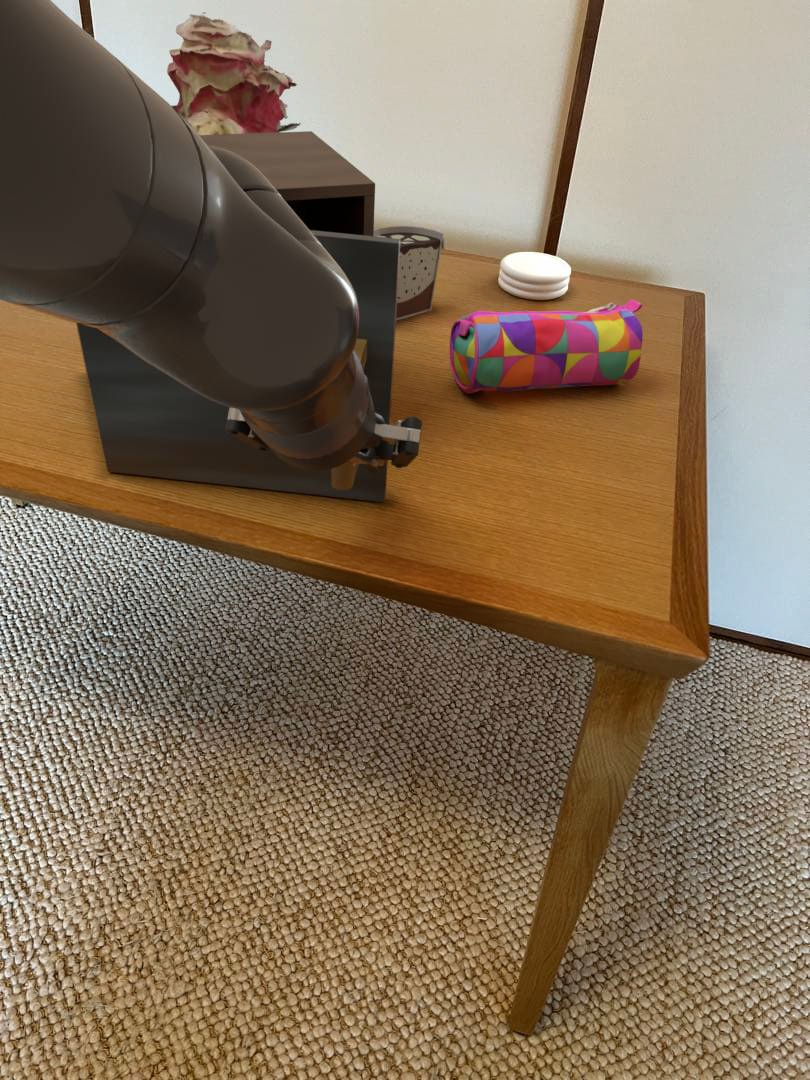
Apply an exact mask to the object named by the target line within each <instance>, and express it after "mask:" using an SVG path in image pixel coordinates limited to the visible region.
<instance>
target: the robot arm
mask: <svg viewBox="0 0 810 1080" xmlns="http://www.w3.org/2000/svg"><path fill="white" fill-rule="evenodd" d="M172 106H173V105H171V104H170V103H169V102H168V101H166V99H164V98H163V97H162V96H161V95H160V94H159V93H158V92H156V91H155V90H154V89H153V88H152V87H150V85H148V84H147V83H146V82H145V81H144V80H142V79H141V78H140V77H139V76H138V75H137V74H136V73H134V71H132V70H131V69H130V68H129V67H127V66H126V65H125V64H124V62H122V61H121V60H120V59H118V58H117V57H116V56H115V55H114V54H113V53H111V52H110V51H109V50H108V49H107V48H106V47H104V46H103V44H101V43H100V42H99V41H98V40H97V39H95V38H94V37H93V36H92V35H90V34H89V33H88V32H87V31H85V29H83V28H82V27H81V26H80V25H79V24H77V23H76V22H75V21H74V20H72V19H71V18H70V17H69V16H68V15H67V14H66V13H65V12H64V11H63V10H62V9H61V8H59V6H57V4H56V3H55V2H53V1H52V0H0V301H3V302H6V303H9V304H12V305H15V306H19V307H21V308H26V309H29V310H31V311H35V312H38V313H41V314H44V315H47V316H51V317H53V318H57V319H60V320H63V321H67V322H71V323H75V324H76V323H78V324H82V325H85V326H90V327H94V328H97V329H99V330H100V331H102V332H104V333H105V334H107V335H108V336H110V337H112V338H113V339H115V340H116V341H118V342H119V343H120V344H122V345H123V346H125V347H126V348H127V349H129V350H130V351H131V352H133V353H134V354H136V355H137V356H138V357H140V358H141V359H143V360H144V361H146V362H147V363H149V364H150V365H152V366H154V367H155V368H157V369H159V370H160V371H162V372H163V373H165V374H167V375H168V376H170V377H172V378H173V379H175V380H176V381H178V382H180V383H181V384H183V385H184V386H186V387H188V388H189V389H191V390H193V391H194V392H196V393H198V394H200V395H202V396H204V397H206V398H207V399H209V400H211V401H214V402H216V403H219V404H221V405H224V406H227V407H229V411H228V417H227V423H226V430H225V431H226V432H227V433H229V434H231V435H233V436H235V437H236V438H238V439H240V440H242V441H244V442H245V443H247V444H249V445H251V446H253V447H254V448H256V449H259V450H260V451H270V450H272V451H273V452H274V453H275V454H276V455H277V456H278V457H279V458H280V459H282V460H283V461H284V462H286V463H288V464H289V465H291V466H294V467H296V468H299V469H303V470H309V471H323V470H328V469H332V468H335V467H338V466H340V465H342V464H344V463H346V462H347V461H350V462H352V463H354V464H366V465H367V467H368V469H369V471H370V472H379V467H380V468H386V467H387V463H388V464H389V461H390V465H391V466H393V467H394V468H396V469H402V468H407V467H408V466H409V465H410V464H411V463H412V462H413V461H414V460H415V459H416V458H417V457H419V454H420V453H419V451H420V444H421V438H422V429H423V423H424V421H423V419H421V418H419V417H418V416H410V417H405V419H404V420H403V419H402V420H401V419H398V420H396V423H395V424H396V425H393V424H390V425H388V424H385V422H384V419H383V417H382V416H381V415H379V414H377V413H376V412H375V411H374V405H373V401H372V397H371V394H370V391H369V384H368V379H367V377H366V375H364V372H363V369H362V366H361V363H360V361H359V359H358V357H357V355H356V353H355V351H354V347H355V344H356V340H357V336H358V330H359V307H358V302H357V297H356V294H355V291H354V289H353V286H352V284H351V282H350V281H349V279H348V277H347V276H346V274H345V273H344V271H343V270H342V269H341V267H340V266H339V265H338V264H337V262H336V261H335V260H334V259H333V258H332V256H331V255H330V254H329V253H328V252H327V250H326V249H325V248H324V247H323V246H322V244H321V243H320V242H319V241H318V240H317V238H316V237H315V236H314V235H313V234H312V232H311V231H310V230H309V229H308V228H307V226H306V225H305V224H304V223H303V222H302V220H301V219H300V218H299V217H298V216H297V214H296V213H295V212H294V211H293V210H292V209H291V207H290V206H289V205H288V204H287V203H286V202H285V200H284V199H283V198H282V196H281V195H280V194H279V192H278V191H277V190H276V189H275V188H274V186H273V185H272V184H271V183H270V182H269V180H268V179H267V178H266V177H265V176H264V175H263V174H262V173H261V172H260V171H259V170H258V169H257V168H256V167H255V166H254V165H252V164H251V163H250V162H249V161H247V160H246V159H244V158H243V157H241V156H240V155H238V154H236V153H234V152H231V151H229V150H226V149H223V148H220V147H216V146H210V145H207V144H206V142H205V141H204V140H203V139H202V138H201V136H200V135H199V134H198V133H197V132H196V130H195V129H194V128H193V127H192V126H191V125H190V124H189V123H188V121H187V120H186V119H185V118H183V117H182V116H181V115H180V114H179V113H178V112H177V111H176V110H175V109H174V108H173V107H172Z"/></svg>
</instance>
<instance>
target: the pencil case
mask: <svg viewBox="0 0 810 1080" xmlns="http://www.w3.org/2000/svg"><path fill="white" fill-rule="evenodd" d="M642 307H643V303H641V302H639V301H636V300H634V299H632V298H630V299H629V300H628V301H627V302H626V303H625V304H624V305H620V304H615V302H609V303H607V305H604V306H600V307H596V308H592V309H589V310H588V311H572V310H555V311H554V310H553V311H551V310H549V311H536V310H535V311H531V310H529V311H526V310H525V311H523V310H522V311H517V310H516V311H502V312H501V311H500V312H499V311H498V312H496V311H488V310H487V311H486V310H475V311H472V312H471V313H469V314H466V315H465V316H463V317H459V318H458V319H457V320H455V321H454V322H453V323H452V326H451V329H450V336H449V362H450V363H449V364H450V368H451V372H452V375H453V377H454V380H455V383H457V385H458V386H459V387H460V389H461V390H462V391H463V392H464V393H465V394H468V395H469V394H474V393H477V392H479V391H481V390H483V391H486V392H492V391H493V392H494V391H497V392H517V391H527V390H532V389H537V390H539V389H540V390H545V389H546V390H547V389H561V388H572V387H573V388H574V387H589V386H591V387H592V386H609V385H611V386H613V385H622V384H627V383H629V382H630V381H631V380H632V379H634V377H635V376H637V375H636V374H637V373H638V371H639V368H640V363H641V359H642V358H641V357H642V349H643V339H644V338H643V337H644V336H643V333H644V332H643V327H642V323H641V322H640V319H638V317H637V316H636V315H635V314H634V313H637V312H639V311H641V309H642Z"/></svg>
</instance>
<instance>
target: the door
mask: <svg viewBox="0 0 810 1080" xmlns="http://www.w3.org/2000/svg"><path fill="white" fill-rule="evenodd" d="M310 231H311V232H312V234H313V235H314V236H315V237H316V238H317V240H318V241H319V242H320V243H321V244H322V246H323V247H324V248H325V249H326V250H327V252H328V253H329V254H330V255H331V256H332V258H333V259H334V260H335V261H336V262H337V264H338V265H339V266H340V267H341V269H342V270H343V271H344V273H345V274H346V276H347V277H348V279H349V281H350V282H351V284H352V286H353V289H354V291H355V294H356V297H357V302H358V307H359V330H358V336H357V340H356V344H355V347H354V351H355V353H356V355H357V357H358V359H359V361H360V363H361V366H362V369H363V372H364V375H366V377H367V379H368V384H369V391H370V394H371V397H372V401H373V405H374V411H375V412H376V413H377V414H379V415H381V416H382V417H383V419H384V422H385V424H388V425H391V415H392V398H393V397H392V396H393V379H394V378H393V377H394V363H395V362H394V360H395V345H396V343H395V342H396V327H397V326H396V325H397V321H396V310H397V293H398V275H399V258H400V239H395V238H385V237H375V236H365V235H354V234H344V233H334V232H324V231H313V230H310ZM77 326H78V331H79V336H80V340H81V345H82V350H83V355H84V360H85V365H86V369H87V374H88V379H89V383H88V385H89V384H90V387H89V390H90V389H91V391H90V395H91V394H92V395H91V398H93V399H92V403H94V404H93V407H94V412H95V413H94V414H95V417H96V422H97V423H96V424H97V427H98V433H99V436H100V442H101V446H102V452H103V456H104V461H105V467H106V471H107V472H109V473H116V474H125V475H135V476H143V477H151V478H153V477H154V478H160V479H169V480H170V479H171V480H180V481H188V482H198V483H206V484H214V485H223V486H233V487H243V488H251V489H259V490H267V491H268V490H269V491H278V492H286V493H295V494H304V495H313V496H323V497H332V498H340V499H350V500H358V501H367V502H374V503H375V502H376V503H385V501H386V497H387V485H388V484H387V482H388V469H389V468H388V467H389V462H388V463H387V467H386V468H380V467H379V472H370V471H369V469H368V467H367V465H366V464H354V463H352V462H350V461H347V462H346V463H344V464H342V465H340V466H338V467H335V468H332V469H328V470H323V471H309V470H303V469H299V468H296V467H294V466H291V465H289V464H288V463H286V462H284V461H283V460H282V459H280V458H279V457H278V456H277V455H276V454H275V453H274V452H273V451H272V450H270V451H260V450H259V449H256V448H254V447H253V446H251V445H249V444H247V443H245V442H244V441H242V440H240V439H238V438H236V437H235V436H233V435H231V434H229V433H227V432H226V431H225V430H226V423H227V417H228V411H229V407H227V406H224V405H221V404H219V403H216V402H214V401H211V400H209V399H207V398H206V397H204V396H202V395H200V394H198V393H196V392H194V391H193V390H191V389H189V388H188V387H186V386H184V385H183V384H181V383H180V382H178V381H176V380H175V379H173V378H172V377H170V376H168V375H167V374H165V373H163V372H162V371H160V370H159V369H157V368H155V367H154V366H152V365H150V364H149V363H147V362H146V361H144V360H143V359H141V358H140V357H138V356H137V355H136V354H134V353H133V352H131V351H130V350H129V349H127V348H126V347H125V346H123V345H122V344H120V343H119V342H118V341H116V340H115V339H113V338H112V337H110V336H108V335H107V334H105V333H104V332H102V331H100V330H99V329H97V328H94V327H90V326H85V325H82V324H78V323H77ZM77 326H76V327H77ZM78 331H77V332H78ZM79 336H78V337H79ZM82 350H81V351H82ZM83 355H82V356H83ZM84 360H83V361H84ZM85 365H84V366H85ZM87 374H86V375H87ZM88 379H87V380H88Z"/></svg>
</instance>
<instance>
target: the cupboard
mask: <svg viewBox="0 0 810 1080" xmlns="http://www.w3.org/2000/svg"><path fill="white" fill-rule="evenodd" d="M200 136H201V138H202V139H203V140H204V141H205V142H206V144H207V145H210V146H216V147H220V148H223V149H226V150H229V151H231V152H234V153H236V154H238V155H240V156H241V157H243V158H244V159H246V160H247V161H249V162H250V163H251V164H252V165H254V166H255V167H256V168H257V169H258V170H259V171H260V172H261V173H262V174H263V175H264V176H265V177H266V178H267V179H268V180H269V182H270V183H271V184H272V185H273V186H274V188H275V189H276V190H277V191H278V192H279V194H280V195H281V196H282V198H283V199H284V200H285V202H286V203H287V204H288V205H289V206H290V207H291V209H292V210H293V211H294V212H295V213H296V214H297V216H298V217H299V218H300V219H301V220H302V222H303V223H304V224H305V225H306V226H307V228H308V229H309V230H313V231H324V232H334V233H344V234H354V235H365V236H373V235H374V230H375V205H376V204H375V203H376V183H375V181H373V180H372V179H370V178H369V177H368V176H367V175H366V174H364V173H363V171H361V170H360V169H359V168H357V167H356V166H355V165H354V164H352V163H351V162H350V161H349V160H347V159H346V158H345V157H344V156H343V155H342V154H340V153H339V152H338V151H336V150H335V149H334V148H332V146H330V145H329V144H328V143H327V142H325V140H323V139H322V138H321V137H320V136H318V135H317V134H316V133H314V131H311V130H307V131H282V132H277V133H248V134H219V135H200ZM75 326H76V330H77V335H78V336H77V337H78V341H79V346H80V350H81V355H82V359H83V364H84V369H85V375H86V378H87V383H88V387H89V391H90V392H91V389H90V384H89V379H88V374H87V369H86V365H85V360H84V355H83V350H82V345H81V340H80V336H79V331H78V326H77V323H75ZM90 395H91V396H92V394H91V393H90ZM91 398H92V397H91ZM91 400H93V398H92V399H91ZM92 403H93V402H92ZM93 405H94V403H93Z"/></svg>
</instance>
